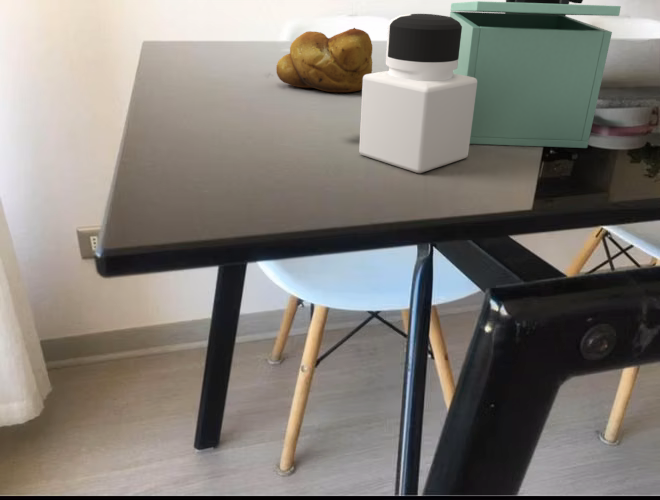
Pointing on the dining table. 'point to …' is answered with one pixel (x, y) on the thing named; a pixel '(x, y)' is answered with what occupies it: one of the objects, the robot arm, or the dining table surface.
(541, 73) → the cool box
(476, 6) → the lid
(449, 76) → the medicine bottle
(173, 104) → the dining table surface
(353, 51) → the bread roll
